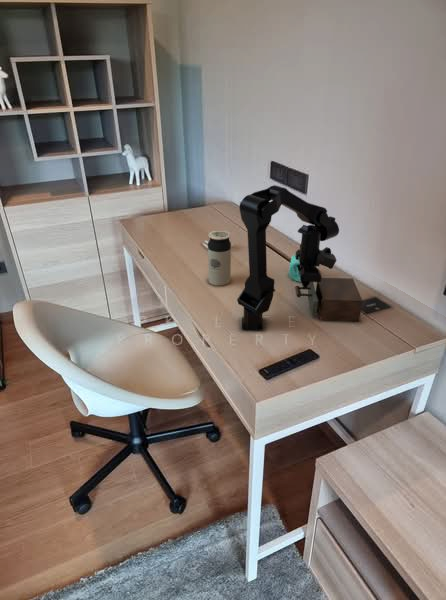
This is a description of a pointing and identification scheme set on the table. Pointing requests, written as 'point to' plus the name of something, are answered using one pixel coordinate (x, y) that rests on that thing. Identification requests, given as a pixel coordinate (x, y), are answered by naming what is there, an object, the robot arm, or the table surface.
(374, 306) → the solid state drive
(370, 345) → the table surface
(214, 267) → the travel mug
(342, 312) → the cabinet
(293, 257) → the decorative dice
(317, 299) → the drawer
